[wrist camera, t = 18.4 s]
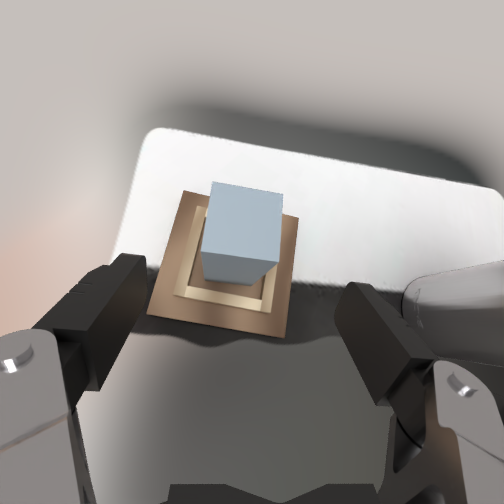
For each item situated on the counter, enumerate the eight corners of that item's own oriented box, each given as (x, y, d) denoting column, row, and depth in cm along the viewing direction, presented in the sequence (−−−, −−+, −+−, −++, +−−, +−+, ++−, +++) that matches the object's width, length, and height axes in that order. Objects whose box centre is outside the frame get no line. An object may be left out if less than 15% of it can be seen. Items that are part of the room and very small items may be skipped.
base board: (294, 223, 28) (302, 213, 25) (280, 337, 24) (288, 339, 21) (185, 197, 26) (182, 184, 24) (150, 314, 22) (142, 313, 20)
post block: (255, 243, 25) (283, 194, 15) (250, 286, 23) (279, 262, 14) (211, 236, 24) (212, 181, 15) (204, 280, 23) (200, 251, 13)
